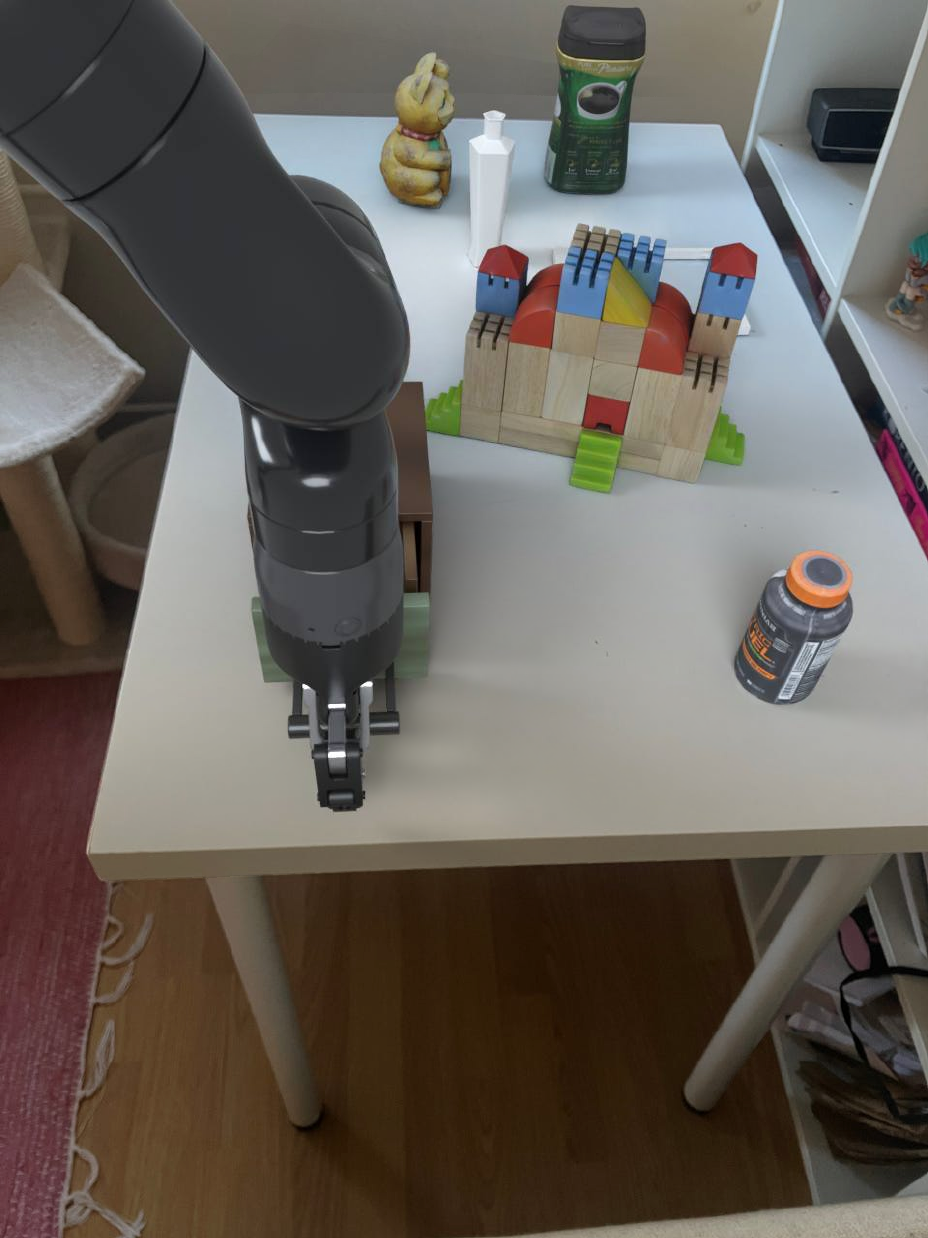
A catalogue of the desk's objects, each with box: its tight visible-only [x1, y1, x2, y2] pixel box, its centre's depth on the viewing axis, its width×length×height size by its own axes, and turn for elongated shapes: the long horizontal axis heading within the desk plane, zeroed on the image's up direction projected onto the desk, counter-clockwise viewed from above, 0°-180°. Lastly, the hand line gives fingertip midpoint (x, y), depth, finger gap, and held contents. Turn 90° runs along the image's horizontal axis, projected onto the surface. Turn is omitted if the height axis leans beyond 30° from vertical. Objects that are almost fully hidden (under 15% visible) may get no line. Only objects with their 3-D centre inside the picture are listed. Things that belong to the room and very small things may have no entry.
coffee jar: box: [543, 4, 647, 195], centre depth 112 cm, size 10×8×19 cm
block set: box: [425, 222, 759, 494], centre depth 82 cm, size 28×14×19 cm, turn 76°
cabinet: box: [246, 381, 434, 599], centre depth 77 cm, size 15×13×10 cm
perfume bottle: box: [466, 109, 516, 268], centre depth 102 cm, size 5×4×15 cm
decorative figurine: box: [378, 51, 456, 209], centre depth 109 cm, size 10×8×15 cm
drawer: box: [250, 521, 431, 740], centre depth 69 cm, size 20×11×8 cm, turn 4°
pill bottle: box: [733, 549, 854, 706], centre depth 69 cm, size 6×6×11 cm
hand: (345, 751), depth 65 cm, fingers open, 7 cm apart
